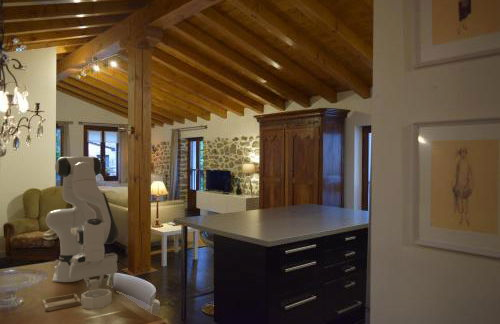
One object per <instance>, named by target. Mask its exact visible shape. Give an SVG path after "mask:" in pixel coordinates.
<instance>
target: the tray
mask: <svg viewBox="0 0 500 324" xmlns="http://www.w3.org/2000/svg"><path fill="white" fill-rule="evenodd" d="M41 304H42V306H43V309H44V311H45V312H50V311H56V310H60V309H65V308H70V307H75V306H82V305H81V298H79V296H78V295H77V293H76V292H74V293H70V294H64V295H59V296H52V297H47V298H43V299H41Z"/></svg>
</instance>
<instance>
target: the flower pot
mask: <svg viewBox="0 0 500 324" xmlns="http://www.w3.org/2000/svg"><path fill="white" fill-rule="evenodd" d="M109 277H110V275H109V274H107V275H104V278H103V280H102V281H101V285H99V289H107V285H108V281H109ZM94 279H97V280H98V281H99V279H100V276H94V277H88V280H87V281H89V280H94Z"/></svg>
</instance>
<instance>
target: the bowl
mask: <svg viewBox="0 0 500 324" xmlns="http://www.w3.org/2000/svg"><path fill="white" fill-rule="evenodd" d="M95 294H99V295H100V297H95V298H93V297H92V295H95ZM80 300H81V305H80V306H82V308H84V309H86V310H87V309H88V310H92V309H93V310H95V309H100V308H105V307H107V306H109V305H110V304H111V303H112V300H113V299H112V291H111V290H110V289H109V288H106V289H96V290H91V289H89V290H87V291H85V292H83V293H81V295H80Z"/></svg>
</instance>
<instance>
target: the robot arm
mask: <svg viewBox="0 0 500 324" xmlns="http://www.w3.org/2000/svg"><path fill="white" fill-rule="evenodd" d="M54 169H55V172H56V174H57V176H59V177H62V178H63V180H62V191H61V192H62V195H61V197H62V200H63V201H64V202H65V203H68V204H70V205H72V206H73V207H70V208H59V209H58V208H57V209H54V210H50V211H49V212H48V213H47V214H46V217H45V224H46V226H47V227H48V228H49V229H50V230H51V231H53V232H54V233H55V234H56V235H57V237H58V239H59V244H60V245H59V246H60V253H59V262H58V264H57V265H56V266H54V267H53V268H54V269H53V270H54V273H53V277H52V280H51V281H52V282H56V283H57V282H59V283H73V282H78V281H80V280H84V282H85V283H86V288H89V287H91V283H90V282H89V280H88V278H89V277H94V276H100V279H99V285H101V281H102V280H103V278H104V275H112V274H116V273H117V272H118V264H117V263H118V254H116V253H115V252H111V253H105V245H106V244H107V245H109V244H110V245H111V244H113V243H114V242H116V240H117V239H118V237H119V230H118V227H117V225H116V222H115V220H114V217H113V213H112V210H111V207H110V203H109V201H108V198H107V195H106V194H105V192H104V191H101V189H100V188H99V186H98V183H97V176H99V175H100V174H101V170H102V163H101V159H100V158H98V157H95V156H84V155H83V156H82V155H78V156H61V157H58V159H57V160H56V162H55V165H54ZM89 204H92V205H94V206H96V207H97V208H98V209H99V211H100V215H101V218H102V220H101V219H100V218H98V219H97V216H98V215H97V213H96V211H95V210H94V208H92V207H90V205H89ZM72 229H77V230H76V233H74V232H72Z"/></svg>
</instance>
